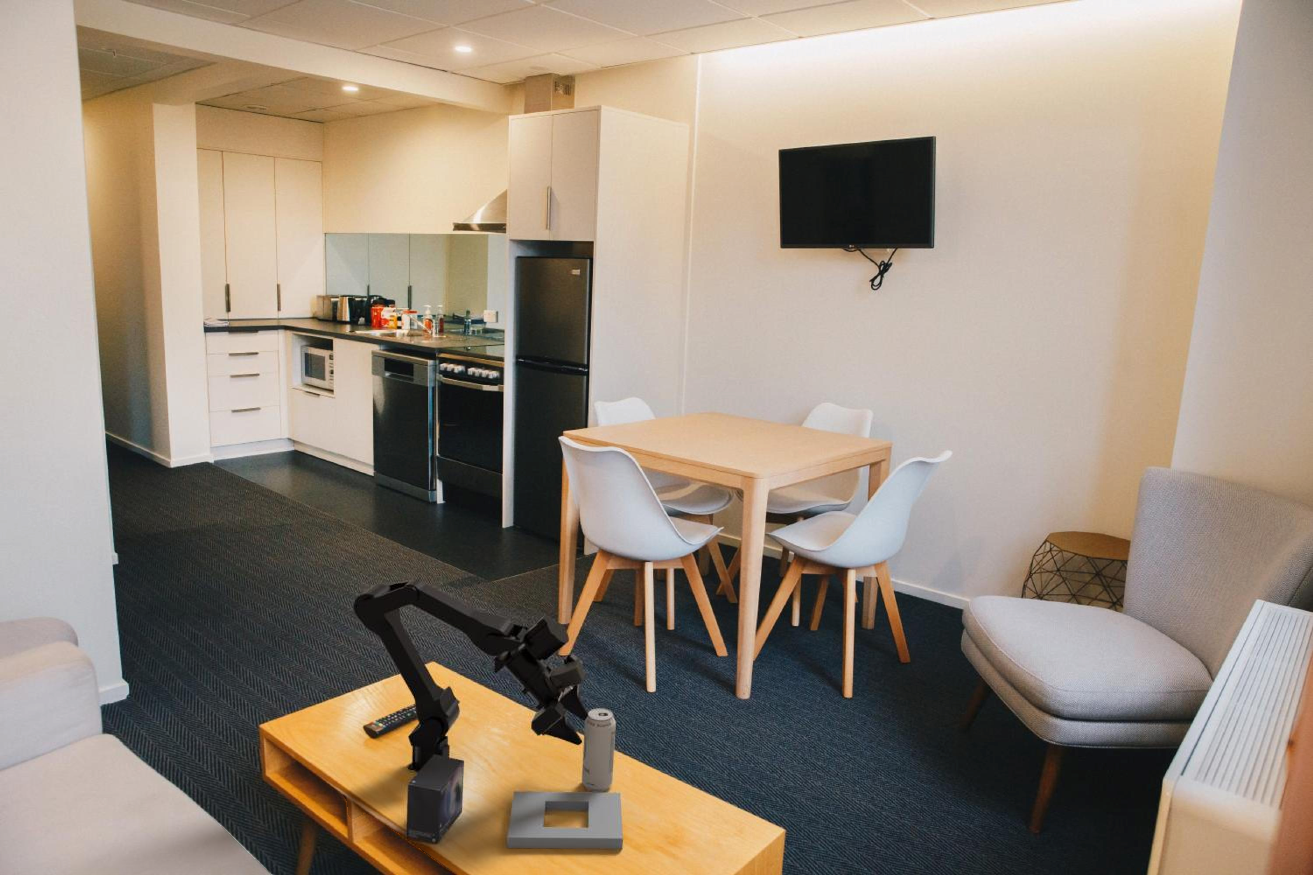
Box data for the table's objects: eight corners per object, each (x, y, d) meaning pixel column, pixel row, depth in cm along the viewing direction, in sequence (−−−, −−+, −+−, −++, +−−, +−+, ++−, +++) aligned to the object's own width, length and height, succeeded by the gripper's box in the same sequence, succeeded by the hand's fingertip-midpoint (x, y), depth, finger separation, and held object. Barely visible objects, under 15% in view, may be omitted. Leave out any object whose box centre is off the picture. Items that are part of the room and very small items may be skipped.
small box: (439, 845, 150) (440, 790, 149) (404, 839, 152) (405, 783, 150) (464, 811, 161) (466, 758, 159) (431, 805, 162) (432, 752, 160)
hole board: (506, 847, 151) (507, 837, 151) (513, 800, 165) (514, 791, 164) (622, 848, 153) (623, 838, 152) (619, 802, 166) (620, 792, 166)
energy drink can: (581, 776, 174) (584, 706, 172) (611, 776, 175) (615, 706, 172) (581, 793, 168) (585, 721, 166) (612, 793, 169) (616, 721, 167)
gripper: (550, 668, 159) (607, 730, 160) (570, 629, 177) (621, 686, 178) (506, 704, 161) (563, 766, 161) (531, 663, 179) (582, 718, 180)
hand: (584, 731), depth 170 cm, fingers open, 9 cm apart
